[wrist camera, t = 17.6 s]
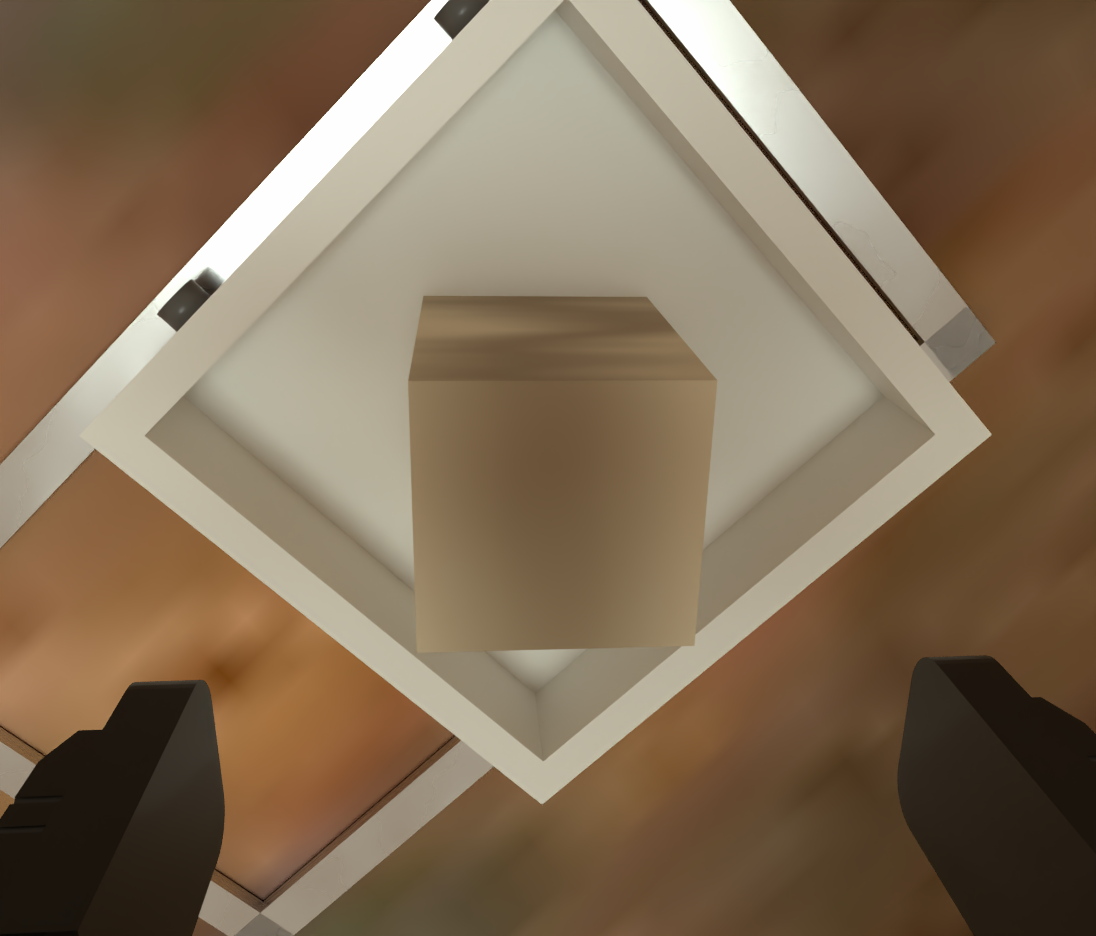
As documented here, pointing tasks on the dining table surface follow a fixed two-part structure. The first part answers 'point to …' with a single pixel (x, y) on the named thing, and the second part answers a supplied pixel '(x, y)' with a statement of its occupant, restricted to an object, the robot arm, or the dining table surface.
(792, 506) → the shallow white tray
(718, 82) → the track
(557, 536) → the block
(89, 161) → the dining table surface
